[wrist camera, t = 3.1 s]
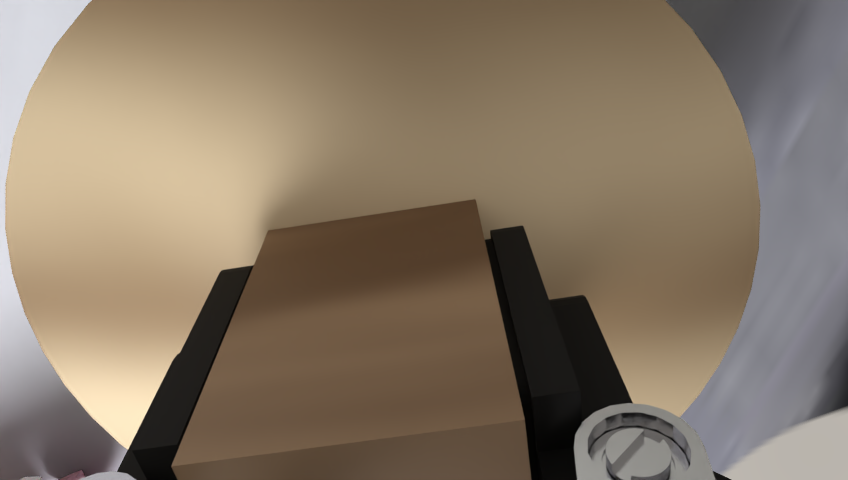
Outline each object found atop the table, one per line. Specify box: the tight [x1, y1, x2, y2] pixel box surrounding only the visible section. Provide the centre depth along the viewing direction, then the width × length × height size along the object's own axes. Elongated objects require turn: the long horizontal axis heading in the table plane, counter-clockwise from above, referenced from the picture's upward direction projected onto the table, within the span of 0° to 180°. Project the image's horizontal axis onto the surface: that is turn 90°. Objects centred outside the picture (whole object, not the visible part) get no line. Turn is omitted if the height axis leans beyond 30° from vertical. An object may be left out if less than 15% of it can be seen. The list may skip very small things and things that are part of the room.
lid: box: [5, 0, 760, 480], centre depth 10 cm, size 13×13×6 cm
